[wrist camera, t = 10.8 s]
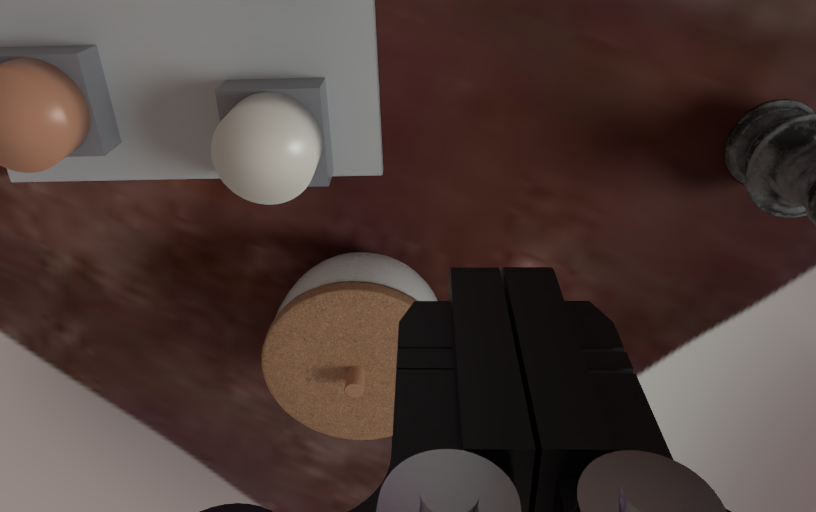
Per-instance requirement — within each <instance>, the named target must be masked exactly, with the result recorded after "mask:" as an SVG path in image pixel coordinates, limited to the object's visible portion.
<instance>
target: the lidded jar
mask: <svg viewBox="0 0 816 512" xmlns="http://www.w3.org/2000/svg"><path fill="white" fill-rule="evenodd" d="M414 301H437V299H436V297H435V295H434V293H433V291H432V290H431V288H430V287H429V285H428V284H427V283H426V282H425V281H424V280H423V279H422V278H421V277H420V276H419V275H418V274H417V273H416V272H415V271H414V270H413V269H411V268H410V267H409V266H407V265H406V264H404V263H402V262H400V261H398V260H396V259H394V258H391V257H388V256H385V255H381V254H376V253H368V252H354V253H346V254H341V255H337V256H334V257H332V258H329V259H327V260H325V261H323V262H321V263H319V264H317V265H316V266H314V267H312V268H311V269H310V270H309V271H307V272H306V273H305V274H304V275H303V276H302V277H301V278H300V279H299V280H298V281H297V282H296V283H295V284H294V286H293V287H292V288H291V289H290V291H289V292H288V294H287V295H286V297H285V299H284V300H283V302H282V304H281V305H280V307H279V309H278V312H277V314H276V317H275V319H274V320H273V322H272V324H271V325H270V327H269V330H268V332H267V335H266V338H265V341H264V344H263V349H262V355H261V361H262V371H263V375H264V379H265V382H266V384H267V386H268V388H269V391H270V392H271V394H272V395H273V397H274V398H275V400H276V401H277V402H278V404H279V405H280V406H281V407H282V408H283V409H284V410H285V411H286V412H287V413H288V414H289V415H291V416H292V417H293V418H295V419H296V420H297V421H299V422H300V423H302V424H304V425H305V426H307V427H309V428H311V429H313V430H316V431H318V432H321V433H324V434H327V435H330V436H333V437H339V438H344V439H354V440H369V439H379V438H385V437H390V436H393V418H394V400H395V382H396V364H397V349H398V348H397V346H398V329H399V321H400V320H401V318H402V317H403V316H404V314H405V313H406V312H407V310H408V309H409V308H410V306H411V305H412V304H413V302H414Z"/></svg>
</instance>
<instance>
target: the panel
mask: <svg viewBox="0 0 816 512" xmlns="http://www.w3.org/2000/svg"><path fill="white" fill-rule="evenodd" d="M16 58H33V59H38V60H42V61H45V62H47V63H49V64H51V65H53V66H55V67H57V68H58V69H60V70H61V71H63V72H64V73H65V74H66V75H68V76H69V77H70V78H71V79H72V80H73V81H74V82H75V84H76V85H77V86H78V88H79V89H80V91H81V92H82V94H83V96H84V98H85V100H86V102H87V105H88V108H89V113H90V128H89V132H88V135H87V137H86V139H85V141H84V142H83V143H82V145H81V146H80V147H78V148H77V149H76V150H75V151H73V152H72V153H71V154H69V155H68V156H66V157H65V158H64V159H62V160H61V161H60V162H58V163H57V164H55V165H54V166H52V167H51V168H49V169H47V170H44V171H41V172H35V173H23V172H17V171H13V170H10V169H7V168H6V169H7V172H8V174H9V177H10V180H11V182H50V181H104V180H157V179H210V178H220V177H219V175H218V174H217V172H216V170H215V167H214V165H213V161H212V156H211V142H212V137H213V134H214V132H215V130H216V128H217V126H218V125H219V123H220V122H221V121H222V119H223V118H224V117H225V116H226V115H227V114H228V113H229V112H230V111H231V110H232V108H233V107H234V106H235V105H236V104H237V103H238V102H240V101H241V100H242V99H244V98H246V97H247V96H250V95H252V94H256V93H260V92H275V93H280V94H284V95H287V96H289V97H291V98H293V99H295V100H297V101H298V102H300V103H301V104H302V105H304V106H305V107H306V108H307V109H308V110H309V111H310V113H311V114H312V115H313V116H314V118H315V120H316V121H317V124H318V126H319V128H320V131H321V136H322V153H321V157H320V160H319V162H318V165H317V167H316V170H315V172H314V175H313V177H312V180H311V182H310V183H309V185H308V186H307V187H314V186H329V184H330V181H331V178H332V176H369V175H382V173H383V156H382V136H381V117H380V97H379V77H378V57H377V37H376V17H375V0H0V64H1V63H4V62H6V61H9V60H12V59H16Z"/></svg>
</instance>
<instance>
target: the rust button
mask: <svg viewBox="0 0 816 512" xmlns="http://www.w3.org/2000/svg"><path fill="white" fill-rule="evenodd" d="M89 128H90V113H89V108H88V105H87V102H86V100H85V98H84V96H83V94H82V92H81V91H80V89H79V88H78V86H77V85H76V84H75V82H74V81H73V80H72V79H71V78H70V77H69V76H68V75H66V74H65V73H64V72H63V71H61V70H60V69H58V68H57V67H55V66H53V65H51V64H49V63H47V62H45V61H42V60H38V59H33V58H16V59H12V60H9V61H6V62H4V63H1V64H0V166H2V167H4V168H7V169H10V170H13V171H17V172H23V173H35V172H41V171H44V170H47V169H49V168H51V167H52V166H54V165H55V164H57V163H58V162H60V161H61V160H62V159H64V158H65V157H66V156H68V155H69V154H71V153H72V152H73V151H75V150H76V149H77V148H78V147H80V146H81V145H82V143H83V142H84V141H85V139H86V137H87V135H88V132H89Z"/></svg>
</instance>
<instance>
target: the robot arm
mask: <svg viewBox="0 0 816 512" xmlns="http://www.w3.org/2000/svg"><path fill="white" fill-rule="evenodd" d="M397 348H398V349H397V364H396V382H395V400H394V418H393V436H392V453H391V461H390V466H389V469H388V472H387V475H386V476H385V478H384V480H383V482H382V483H381V485H380V486H379V487H378V489H377V490H376V491H375V492H374V493H373V494H372V495H371V496H370V497H369V498H368V499H367V500H366V501H364V502H363V503H361V504H360V505H358V506H357V507H355V508H354V509H352V510H350V511H348V512H731V511H729V510H727V509H725V507H724V506H723V504H722V502H721V500H720V499H719V497H718V496H717V494H716V493H715V492H714V490H713V489H712V488H711V487H710V486H709V485H708V484H707V483H706V482H705V481H704V480H703V479H702V478H701V477H700V476H698V475H697V474H696V473H695V472H693V471H692V470H690V469H689V468H687V467H686V466H684V465H682V464H680V463H678V462H676V461H674V460H673V458H672V456H671V454H670V451H669V449H668V447H667V445H666V442H665V440H664V438H663V436H662V433H661V431H660V429H659V426H658V424H657V422H656V419H655V417H654V415H653V412H652V410H651V408H650V406H649V403H648V401H647V399H646V396H645V394H644V392H643V390H642V387H641V385H640V383H639V380H638V378H637V376H636V374H633V367H632V364H631V362H630V360H629V357H628V355H627V353H626V352H624V346H623V344H622V341H621V339H620V337H619V335H618V332H617V330H616V328H615V325H614V323H613V322H612V321H611V320H610V319H609V318H608V317H607V316H605V315H604V314H603V313H602V312H601V311H600V310H599V309H598V308H597V307H595V306H594V305H593V304H592V303H591V302H590V301H564V298H563V295H562V292H561V290H560V287H559V284H558V281H557V278H556V275H555V272H554V270H553V268H551V267H503V268H502V269H501V272H500V270H499V268H450V269H449V293H448V301H414V302H413V304H412V305H411V306H410V308H409V309H408V310H407V312H406V313H405V314H404V316H403V317H402V318H401V320H400V321H399V329H398V346H397ZM200 512H272V511H271V510H268V509H266V508H263V507H261V506H256V505H251V504H240V503H235V504H224V505H220V506H216V507H211V508H209V509H206V510H203V511H200Z"/></svg>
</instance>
